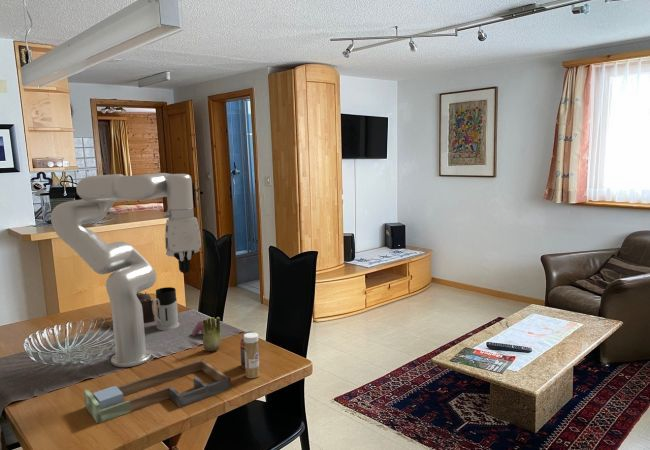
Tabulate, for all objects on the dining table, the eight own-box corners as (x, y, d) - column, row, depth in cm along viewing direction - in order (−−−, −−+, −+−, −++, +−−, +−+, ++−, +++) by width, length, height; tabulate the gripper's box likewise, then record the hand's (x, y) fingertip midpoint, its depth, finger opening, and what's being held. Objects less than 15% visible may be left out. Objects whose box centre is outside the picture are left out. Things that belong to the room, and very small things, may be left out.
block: (94, 409, 134) (92, 393, 133) (117, 402, 138) (115, 385, 137) (101, 418, 130) (100, 401, 129) (124, 410, 134) (123, 393, 133)
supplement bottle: (256, 371, 155) (254, 337, 153) (238, 369, 156) (236, 336, 155) (262, 363, 161) (260, 330, 159) (245, 361, 162) (243, 329, 160)
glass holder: (183, 322, 199) (181, 287, 197) (165, 336, 185) (162, 298, 183) (163, 321, 201) (161, 286, 198) (144, 334, 187) (141, 296, 185)
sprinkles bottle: (256, 379, 149) (254, 338, 147) (242, 378, 151) (240, 336, 149) (262, 373, 154) (260, 332, 152) (249, 371, 155) (247, 331, 153)
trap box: (85, 407, 135) (84, 390, 134) (203, 367, 158) (202, 353, 157) (106, 435, 122) (104, 416, 121) (231, 388, 145) (230, 372, 144)
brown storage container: (156, 321, 202) (153, 278, 199) (128, 326, 196) (124, 283, 193) (149, 310, 215) (146, 270, 212) (122, 315, 209) (119, 274, 206)
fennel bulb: (222, 347, 174) (221, 315, 172) (218, 353, 169) (216, 320, 167) (206, 347, 174) (205, 315, 172) (202, 353, 170) (200, 320, 168)
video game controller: (217, 341, 184) (222, 322, 185) (209, 339, 180) (214, 321, 181) (198, 336, 189) (203, 318, 190) (190, 334, 185) (195, 316, 186)
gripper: (162, 218, 142) (166, 279, 145) (208, 213, 152) (212, 270, 155) (152, 215, 148) (156, 274, 151) (197, 210, 157) (201, 266, 160)
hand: (184, 272), depth 153 cm, fingers closed
